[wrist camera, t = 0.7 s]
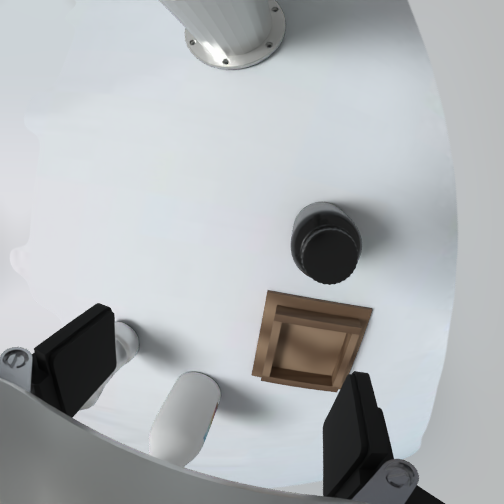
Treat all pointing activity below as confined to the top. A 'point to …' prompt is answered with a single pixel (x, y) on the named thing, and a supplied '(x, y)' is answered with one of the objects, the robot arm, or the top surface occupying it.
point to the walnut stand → (308, 341)
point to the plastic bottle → (118, 355)
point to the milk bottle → (184, 419)
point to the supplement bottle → (325, 243)
